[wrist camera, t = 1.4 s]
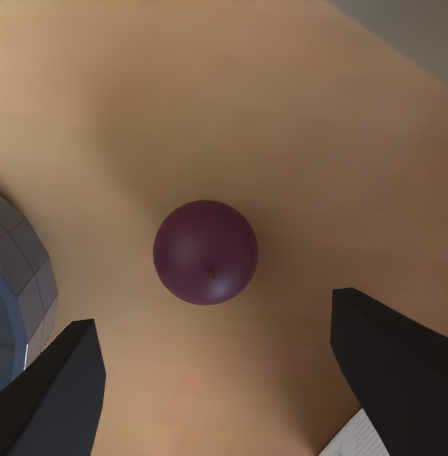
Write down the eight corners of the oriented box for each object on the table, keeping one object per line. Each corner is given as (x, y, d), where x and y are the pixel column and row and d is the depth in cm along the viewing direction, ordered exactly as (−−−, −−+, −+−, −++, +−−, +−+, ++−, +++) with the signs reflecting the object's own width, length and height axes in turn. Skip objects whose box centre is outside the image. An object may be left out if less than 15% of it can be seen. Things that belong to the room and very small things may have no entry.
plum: (249, 271, 22) (274, 326, 16) (161, 282, 21) (158, 341, 16) (244, 185, 20) (270, 214, 15) (149, 194, 20) (141, 228, 14)
